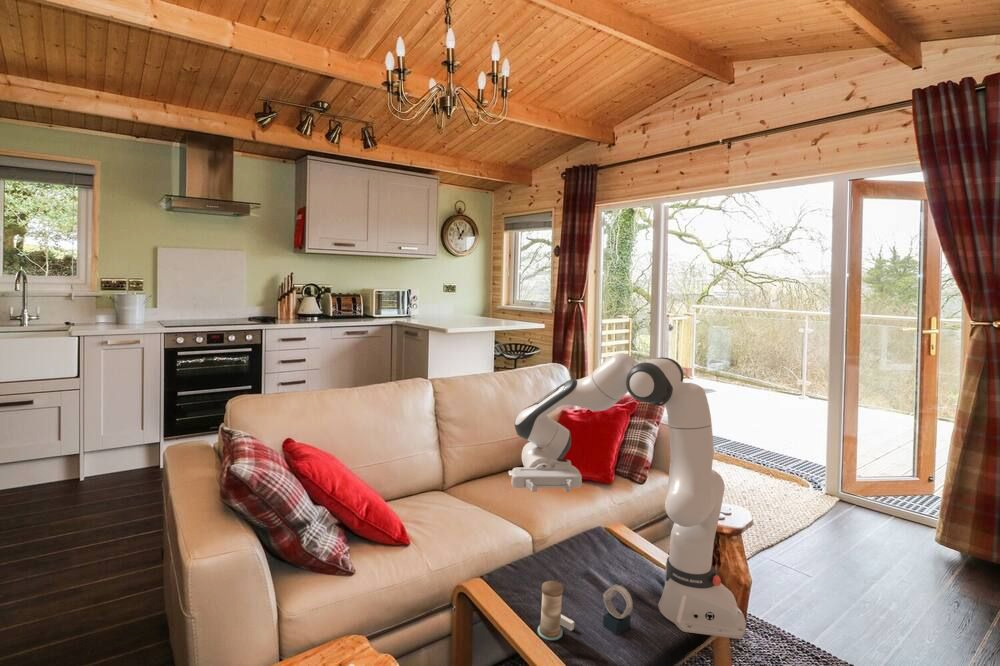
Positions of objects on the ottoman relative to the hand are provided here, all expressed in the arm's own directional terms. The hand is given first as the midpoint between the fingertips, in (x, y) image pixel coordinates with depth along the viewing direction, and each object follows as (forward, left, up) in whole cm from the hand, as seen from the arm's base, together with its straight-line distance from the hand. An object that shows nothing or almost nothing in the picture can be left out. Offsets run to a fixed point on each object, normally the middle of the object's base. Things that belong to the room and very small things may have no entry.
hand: (551, 489), depth 156 cm
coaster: (-5, +14, -32) cm, 35 cm away
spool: (-5, +14, -32) cm, 35 cm away
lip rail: (-7, +10, -32) cm, 34 cm away
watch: (-21, +5, -32) cm, 39 cm away
